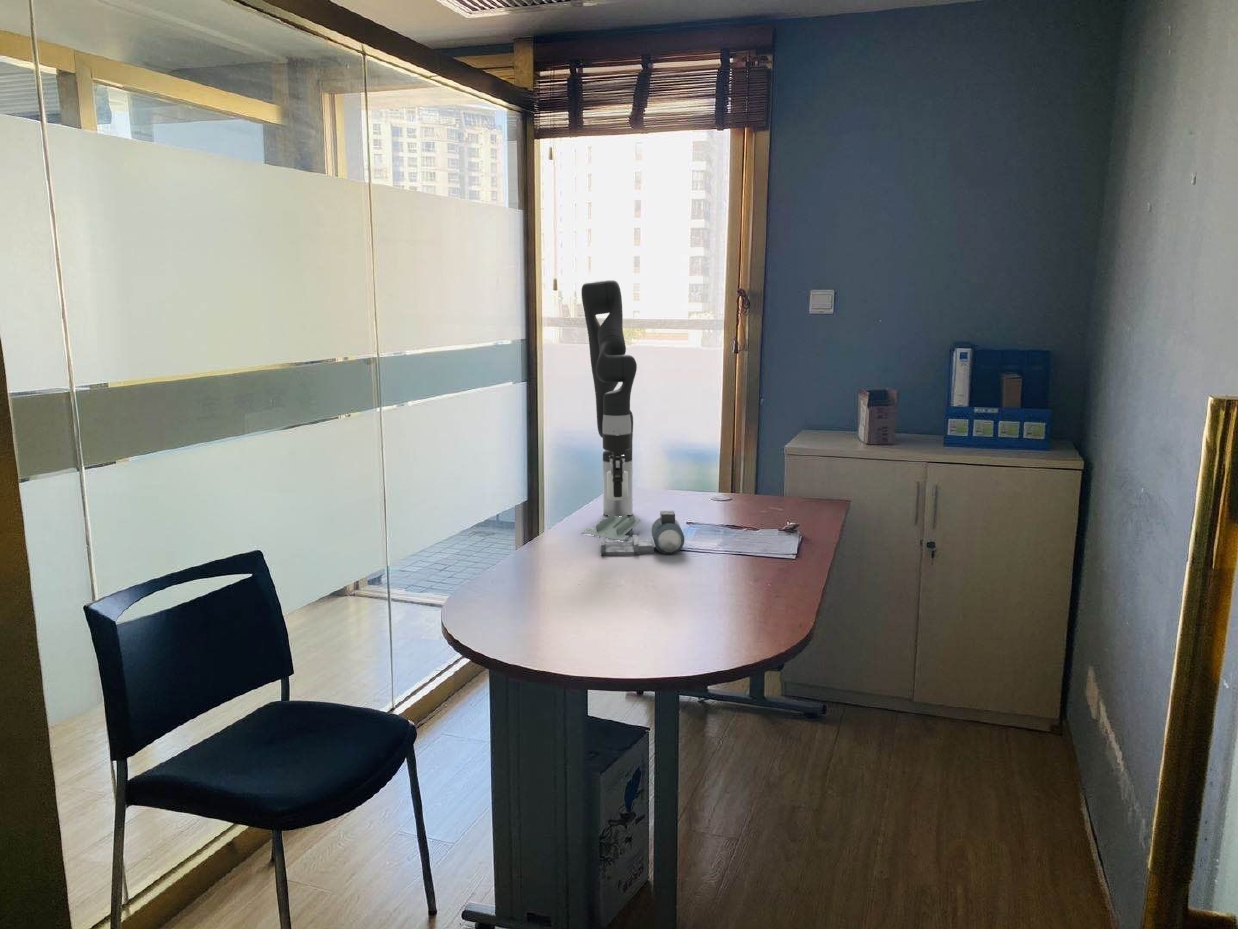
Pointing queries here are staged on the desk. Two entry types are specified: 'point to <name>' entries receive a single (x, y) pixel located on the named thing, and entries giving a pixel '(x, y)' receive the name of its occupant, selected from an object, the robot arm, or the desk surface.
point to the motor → (664, 536)
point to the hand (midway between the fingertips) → (617, 494)
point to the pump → (611, 491)
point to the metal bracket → (614, 527)
